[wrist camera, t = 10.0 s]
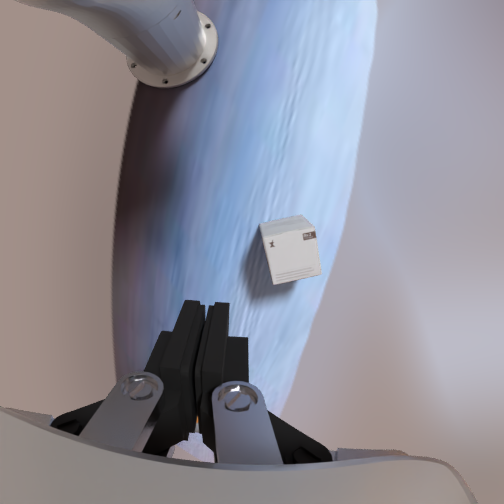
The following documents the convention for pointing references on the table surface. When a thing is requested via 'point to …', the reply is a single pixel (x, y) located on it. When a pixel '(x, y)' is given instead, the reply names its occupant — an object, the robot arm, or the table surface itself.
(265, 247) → the skincare box
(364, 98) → the table surface
